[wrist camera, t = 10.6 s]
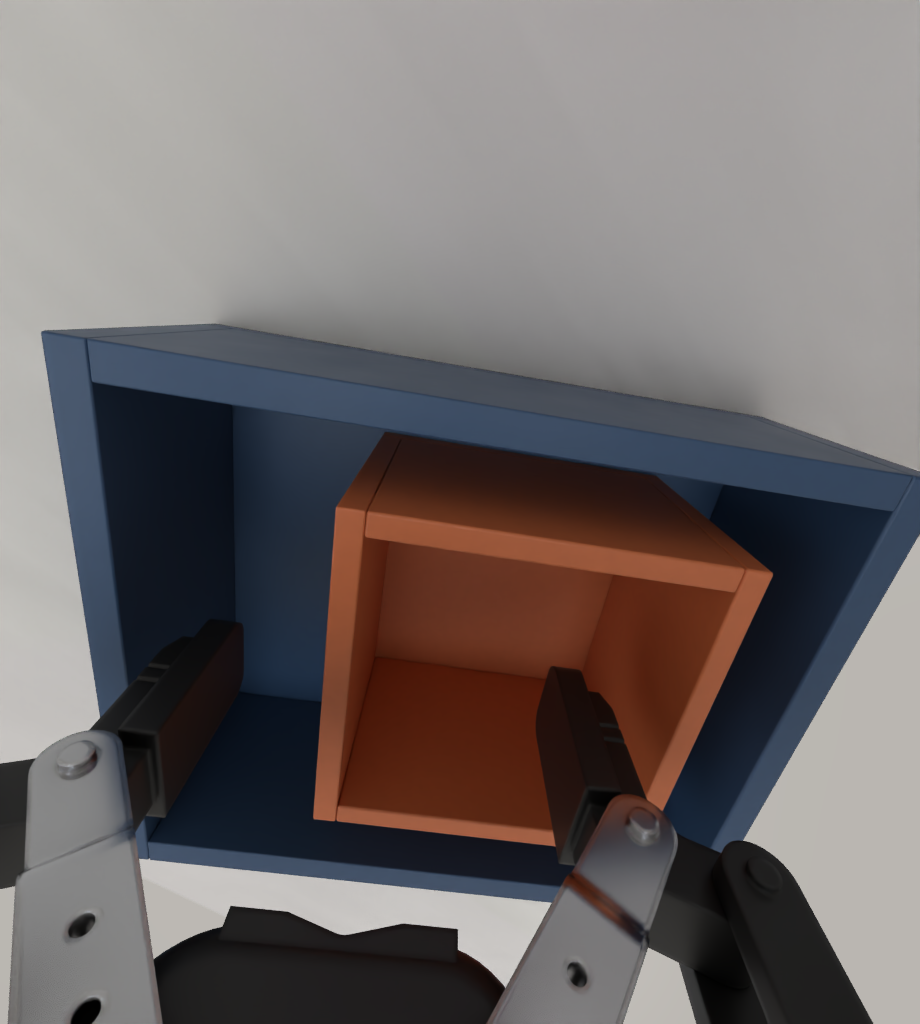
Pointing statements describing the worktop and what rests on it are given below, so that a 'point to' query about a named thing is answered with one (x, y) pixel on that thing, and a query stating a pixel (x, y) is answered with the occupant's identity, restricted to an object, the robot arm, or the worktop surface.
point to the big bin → (308, 559)
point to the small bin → (512, 631)
